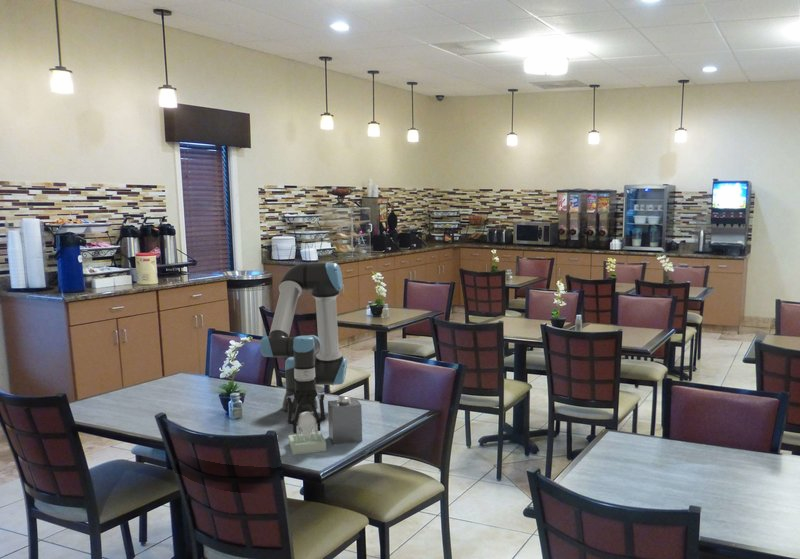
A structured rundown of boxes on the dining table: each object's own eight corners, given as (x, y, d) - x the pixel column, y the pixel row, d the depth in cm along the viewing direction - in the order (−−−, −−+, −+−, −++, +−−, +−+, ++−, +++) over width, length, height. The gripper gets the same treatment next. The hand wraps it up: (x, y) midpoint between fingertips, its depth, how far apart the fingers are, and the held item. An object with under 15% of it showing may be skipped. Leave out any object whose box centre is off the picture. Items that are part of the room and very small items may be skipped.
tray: (288, 443, 254) (288, 435, 254) (320, 440, 258) (320, 432, 257) (292, 454, 243) (292, 446, 243) (326, 450, 246) (326, 442, 246)
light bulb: (312, 444, 246) (312, 415, 245) (295, 443, 248) (294, 414, 247) (318, 438, 253) (317, 409, 252) (301, 437, 254) (300, 408, 253)
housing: (328, 436, 261) (327, 395, 260) (356, 433, 264) (355, 393, 263) (333, 444, 252) (331, 402, 251) (362, 441, 255) (361, 399, 254)
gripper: (279, 383, 242) (281, 447, 244) (332, 379, 247) (334, 441, 249) (277, 378, 249) (279, 440, 251) (329, 374, 254) (331, 434, 256)
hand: (307, 440), depth 250 cm, fingers closed on light bulb, 6 cm apart
